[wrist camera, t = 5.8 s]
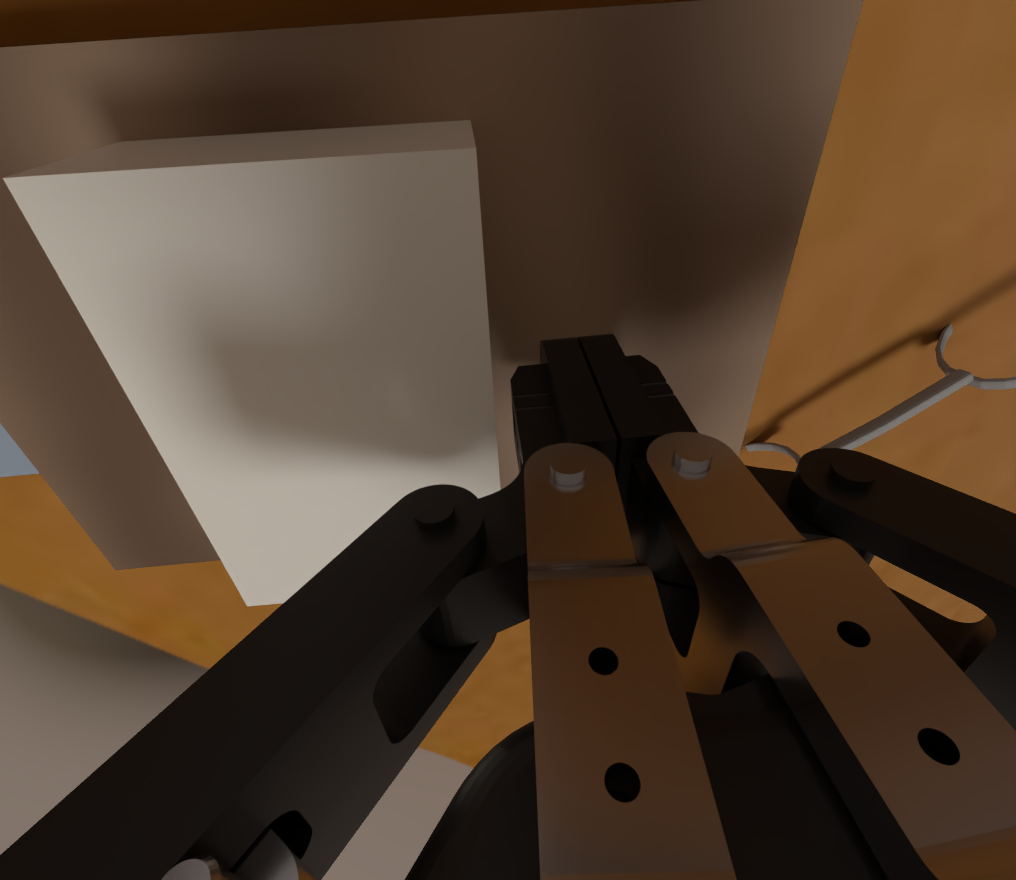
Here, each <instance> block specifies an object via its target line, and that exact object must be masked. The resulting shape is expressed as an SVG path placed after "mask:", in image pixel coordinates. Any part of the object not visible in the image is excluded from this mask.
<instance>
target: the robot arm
mask: <svg viewBox="0 0 1016 880" xmlns="http://www.w3.org/2000/svg"><path fill="white" fill-rule="evenodd" d="M510 383H511V398H512V414H513V429H514V441H515V448H516V455H517V462H518V468H519V474H518V476H517V477H516V478H515V479H514V480H513V482H512V483H510V484H509V485H508V486H506V487H505V488H503V489H501V490H499V491H497V492H495V493H493V494H490V495H487V496H484V497H481V498H479V499H478V498H477V497H476V495H474V494H473V493H472V492H471V491H469V490H467V489H465V488H462V487H459V486H455V485H447V484H439V485H431V486H426V487H423V488H419V489H417V490H415V491H412V492H411V493H409V494H407V495H406V496H404V497H403V498H402V499H400V500H399V501H398V502H397V503H396V504H395V505H394V506H392V507H391V508H390V509H389V510H388V511H387V512H386V513H385V514H383V515H382V516H381V517H380V518H379V519H378V520H377V521H376V522H374V523H373V524H372V525H371V526H370V527H369V528H368V529H367V530H365V531H364V532H363V533H362V534H361V535H360V536H359V537H358V538H356V539H355V540H354V541H353V542H352V543H351V544H350V545H349V546H347V547H346V548H345V549H344V550H343V551H342V552H341V553H340V554H338V555H337V556H336V557H335V558H334V559H333V560H332V561H331V562H329V563H328V564H327V565H326V566H325V567H324V568H323V569H322V570H320V571H319V572H318V573H317V574H316V575H315V576H314V577H313V578H311V579H310V580H309V581H308V582H307V583H306V584H305V585H304V586H302V587H301V588H300V589H299V590H298V591H297V592H296V593H295V594H293V595H292V596H291V597H290V598H289V599H288V600H287V601H286V602H284V603H283V604H282V605H281V606H280V607H279V608H278V609H277V610H275V611H274V612H273V613H272V614H271V615H270V616H269V617H268V618H266V619H265V620H264V621H263V622H262V623H261V624H260V625H259V626H257V627H256V628H255V629H254V630H253V631H252V632H251V633H250V634H248V635H247V636H246V637H245V638H244V639H243V640H242V641H241V642H239V643H238V644H237V645H236V646H235V647H234V648H233V649H232V650H230V651H229V652H228V653H227V654H226V655H225V656H224V657H223V658H221V659H220V660H219V661H218V662H217V663H216V664H215V665H214V666H212V667H211V668H210V669H209V670H208V671H207V672H206V673H205V674H203V675H202V676H201V677H200V678H199V679H198V680H197V681H196V682H194V683H193V684H192V685H191V686H190V687H189V688H188V689H187V690H185V691H184V692H183V693H182V694H181V695H180V696H179V697H178V698H176V699H175V700H174V701H173V702H172V703H171V704H170V705H169V706H167V707H166V708H165V709H164V710H163V711H162V712H161V713H160V714H158V716H156V717H155V718H154V719H153V720H152V721H151V722H150V723H149V724H147V725H146V726H145V727H144V728H143V729H142V730H141V731H140V732H138V733H137V734H136V735H135V736H134V737H133V738H132V739H130V740H129V741H128V742H127V743H126V744H125V745H124V746H122V747H121V748H120V749H119V750H118V751H117V752H116V753H115V754H114V755H112V756H111V757H110V758H109V759H108V760H107V761H106V762H104V764H102V765H101V766H100V767H99V768H98V769H97V770H95V771H94V772H93V773H92V774H91V775H90V776H89V777H88V778H87V779H85V780H84V781H83V782H82V783H81V784H80V785H79V786H78V787H76V788H75V789H74V790H73V791H72V792H71V793H70V794H69V795H67V796H66V797H65V798H64V799H63V800H62V801H61V802H60V803H58V805H56V806H55V807H54V808H53V809H52V810H50V812H48V813H47V814H46V815H45V816H44V817H43V818H42V819H41V820H39V821H38V822H37V823H36V824H35V825H34V826H33V827H31V828H30V829H29V830H28V831H27V832H26V833H25V834H24V835H22V836H21V837H20V838H19V839H18V840H17V841H16V842H15V843H13V844H12V845H11V846H10V847H9V848H8V849H7V850H6V851H4V852H3V853H2V854H1V855H0V880H321V879H322V877H323V876H324V875H325V874H326V872H327V871H328V870H329V868H330V867H331V865H332V864H333V863H334V861H335V860H336V859H337V857H338V856H339V855H340V853H341V852H342V850H343V849H344V848H345V846H346V845H347V843H348V842H349V841H350V839H351V838H352V837H353V835H354V834H355V833H356V831H357V830H358V828H359V827H360V826H361V824H362V823H363V822H364V820H365V819H366V817H367V816H368V815H369V813H370V812H371V811H372V809H373V808H374V806H375V805H376V804H377V802H378V801H379V800H380V798H381V797H382V795H383V794H384V793H385V791H386V790H387V789H388V787H389V786H390V785H391V783H392V782H393V780H394V779H395V778H396V776H397V775H398V773H399V772H400V771H401V769H402V768H403V767H404V765H405V764H406V762H407V761H408V760H409V758H410V757H411V756H412V754H413V753H414V752H415V750H416V749H417V747H418V746H419V745H420V743H421V742H422V741H423V739H424V738H425V736H426V735H427V734H428V732H429V731H430V730H431V728H432V727H433V725H434V724H435V723H436V721H437V720H438V719H439V717H440V716H441V715H442V713H443V712H444V710H445V709H446V708H447V706H448V705H449V704H450V702H451V701H452V699H453V698H454V697H455V695H456V694H457V693H458V691H459V690H460V688H461V687H462V686H463V684H464V683H465V682H466V680H467V679H468V677H469V676H470V675H471V673H472V672H473V671H474V669H475V668H476V666H477V665H478V664H479V662H480V661H481V660H482V658H483V657H484V655H485V654H486V653H487V651H488V650H489V649H490V647H491V646H492V644H493V642H494V640H495V637H496V634H497V633H498V632H500V631H502V630H505V629H507V628H509V627H512V626H514V625H516V624H518V623H521V622H523V621H525V620H527V619H530V642H531V666H532V690H533V714H534V721H532V722H530V723H528V724H526V725H524V726H523V727H521V728H519V729H518V730H516V731H514V732H513V733H511V734H510V735H509V736H507V737H506V738H505V739H503V740H502V741H501V742H500V743H498V744H497V745H496V746H495V747H493V748H492V749H491V750H490V751H489V752H488V753H487V754H486V755H485V756H484V757H483V758H482V759H481V760H480V761H479V762H478V764H477V765H476V766H475V767H474V769H473V770H472V771H471V773H470V774H469V775H468V776H467V778H466V779H465V780H464V782H463V783H462V785H461V786H460V788H459V789H458V791H457V793H456V794H455V796H454V797H453V799H452V801H451V802H450V804H449V806H448V807H447V809H446V811H445V813H444V814H443V816H442V818H441V819H440V821H439V823H438V824H437V826H436V828H435V829H434V831H433V833H432V834H431V836H430V838H429V840H428V841H427V843H426V845H425V846H424V848H423V850H422V852H421V853H420V855H419V856H418V858H417V860H416V862H415V863H414V865H413V867H412V868H411V870H410V872H409V873H408V875H407V877H406V878H405V880H1016V514H1015V513H1012V512H1010V511H1007V510H1005V509H1002V508H1000V507H997V506H995V505H992V504H990V503H987V502H985V501H982V500H980V499H977V498H975V497H972V496H970V495H967V494H965V493H962V492H959V491H957V490H954V489H952V488H949V487H947V486H944V485H942V484H939V483H937V482H934V481H932V480H929V479H927V478H924V477H922V476H919V475H917V474H914V473H912V472H909V471H907V470H904V469H902V468H899V467H897V466H894V465H892V464H889V463H887V462H884V461H882V460H879V459H877V458H874V457H872V456H869V455H866V454H863V453H861V452H857V451H853V450H848V449H842V448H822V449H816V450H813V451H810V452H808V453H806V454H805V455H804V456H802V458H801V459H800V460H799V463H798V466H797V468H796V471H795V472H791V471H782V470H774V469H766V468H758V467H751V466H747V465H744V464H743V462H742V461H741V460H740V459H739V457H738V456H737V455H736V454H735V452H734V451H733V450H732V449H731V448H730V447H729V446H727V445H726V444H725V443H723V442H721V441H720V440H718V439H715V438H713V437H711V436H707V435H704V434H700V433H698V431H697V429H696V428H695V426H694V425H693V423H692V421H691V420H690V418H689V417H688V415H687V413H686V412H685V410H684V408H683V407H682V405H681V404H680V402H679V400H678V399H677V397H676V396H674V392H673V391H672V389H671V387H670V386H669V384H667V383H666V379H665V378H664V376H663V374H662V373H661V371H660V369H659V368H658V366H656V365H655V364H653V363H652V362H650V361H649V360H647V359H646V358H644V357H643V356H641V355H632V356H625V354H624V352H623V350H622V349H621V347H620V345H619V343H618V341H617V339H616V337H615V336H614V334H604V335H593V336H582V337H577V338H576V337H572V338H561V339H550V340H541V341H540V364H535V365H524V366H518V367H517V369H516V371H515V373H514V374H513V376H512V378H511V380H510ZM874 555H875V556H877V557H879V558H881V559H883V560H885V561H887V562H889V563H891V564H893V565H895V566H897V567H899V568H901V569H903V570H905V571H907V572H909V573H911V574H913V575H915V576H917V577H919V578H921V579H923V580H925V581H927V582H929V583H931V584H933V585H935V586H937V587H939V588H941V589H943V590H945V591H947V592H949V593H951V594H953V595H955V596H957V597H959V598H961V599H963V600H965V601H967V602H969V603H971V604H973V605H975V606H977V607H978V608H980V609H981V610H983V611H984V612H985V613H986V614H987V615H986V616H985V618H984V619H982V620H981V621H979V622H975V623H962V622H957V621H954V620H951V619H948V618H946V617H944V616H942V615H940V614H938V613H937V612H935V611H933V610H931V609H929V608H927V607H925V606H923V605H921V604H919V603H918V602H916V601H914V600H912V599H910V598H908V597H906V596H904V595H902V594H900V593H899V592H897V591H895V590H893V589H891V588H889V587H888V586H887V585H886V584H885V583H884V582H883V581H882V580H881V579H880V577H879V576H878V575H877V574H876V573H875V572H874V571H873V570H872V568H871V567H870V566H869V564H870V562H871V560H872V558H873V557H874Z"/></svg>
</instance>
